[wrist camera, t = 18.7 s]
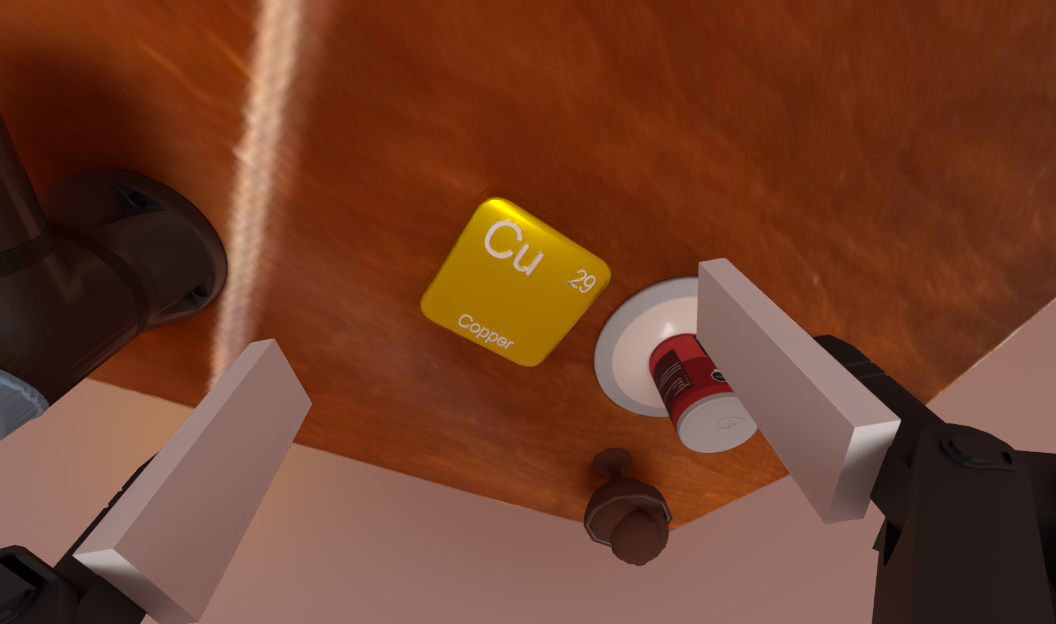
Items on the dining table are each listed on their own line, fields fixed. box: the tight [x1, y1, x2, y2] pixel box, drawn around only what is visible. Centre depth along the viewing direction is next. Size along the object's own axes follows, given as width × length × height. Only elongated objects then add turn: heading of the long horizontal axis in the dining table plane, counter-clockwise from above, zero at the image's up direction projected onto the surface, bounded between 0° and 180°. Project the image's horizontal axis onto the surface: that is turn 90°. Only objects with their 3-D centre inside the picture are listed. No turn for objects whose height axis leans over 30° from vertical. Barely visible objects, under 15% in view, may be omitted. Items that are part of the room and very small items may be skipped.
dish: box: [593, 276, 699, 417], centre depth 52 cm, size 20×20×2 cm
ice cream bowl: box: [584, 448, 672, 566], centre depth 56 cm, size 11×11×15 cm
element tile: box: [420, 186, 611, 367], centre depth 45 cm, size 15×15×5 cm
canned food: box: [649, 333, 758, 453], centre depth 47 cm, size 8×8×11 cm
